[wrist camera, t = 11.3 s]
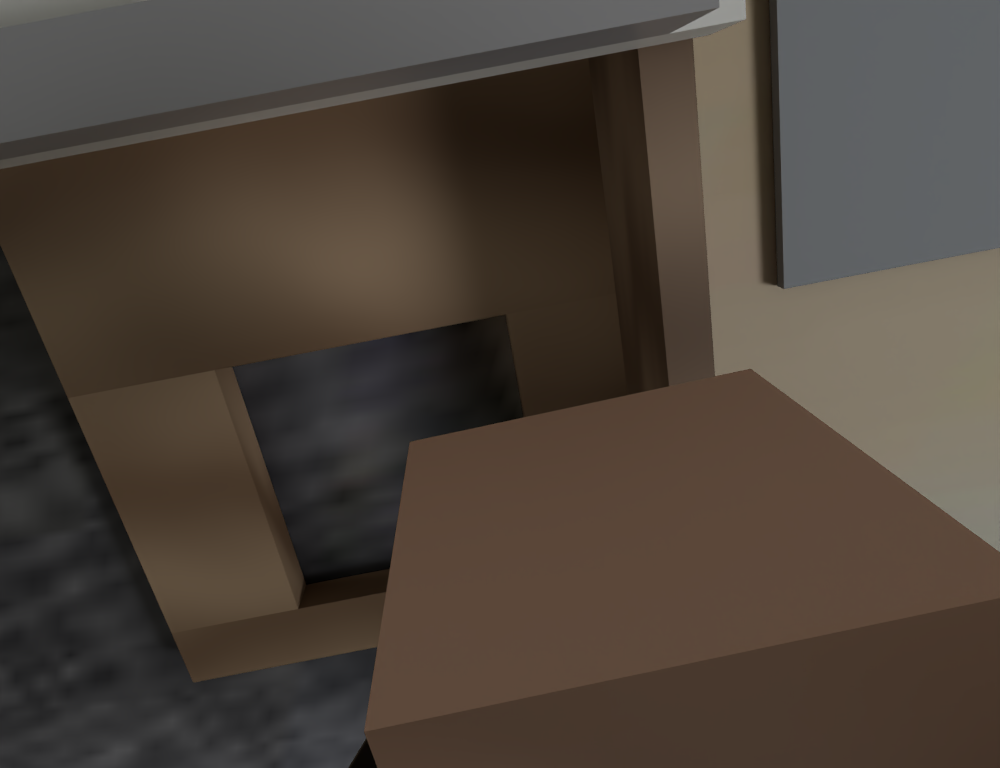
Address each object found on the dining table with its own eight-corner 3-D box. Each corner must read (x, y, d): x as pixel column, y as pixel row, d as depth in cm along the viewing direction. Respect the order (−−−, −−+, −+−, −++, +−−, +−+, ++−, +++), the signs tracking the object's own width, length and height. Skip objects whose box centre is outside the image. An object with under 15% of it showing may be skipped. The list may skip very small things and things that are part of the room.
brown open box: (669, 565, 22) (735, 692, 17) (206, 655, 22) (132, 809, 17) (596, -140, 15) (671, -285, 10) (-77, -13, 15) (-349, -96, 10)
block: (771, 641, 11) (1004, 1004, 6) (482, 703, 11) (502, 1107, 6) (750, 368, 9) (1047, 587, 5) (409, 441, 9) (363, 731, 5)
